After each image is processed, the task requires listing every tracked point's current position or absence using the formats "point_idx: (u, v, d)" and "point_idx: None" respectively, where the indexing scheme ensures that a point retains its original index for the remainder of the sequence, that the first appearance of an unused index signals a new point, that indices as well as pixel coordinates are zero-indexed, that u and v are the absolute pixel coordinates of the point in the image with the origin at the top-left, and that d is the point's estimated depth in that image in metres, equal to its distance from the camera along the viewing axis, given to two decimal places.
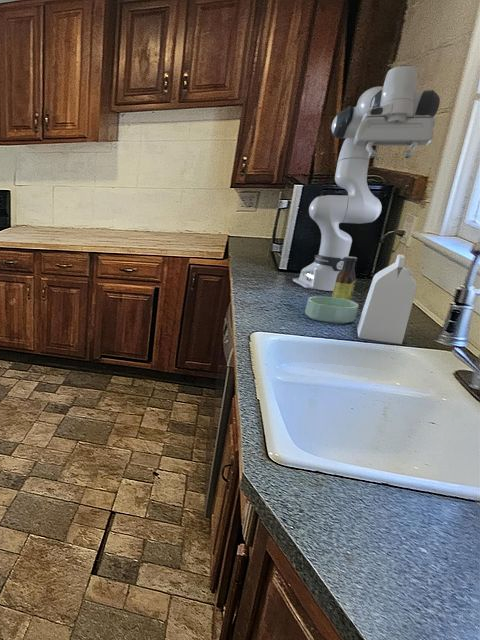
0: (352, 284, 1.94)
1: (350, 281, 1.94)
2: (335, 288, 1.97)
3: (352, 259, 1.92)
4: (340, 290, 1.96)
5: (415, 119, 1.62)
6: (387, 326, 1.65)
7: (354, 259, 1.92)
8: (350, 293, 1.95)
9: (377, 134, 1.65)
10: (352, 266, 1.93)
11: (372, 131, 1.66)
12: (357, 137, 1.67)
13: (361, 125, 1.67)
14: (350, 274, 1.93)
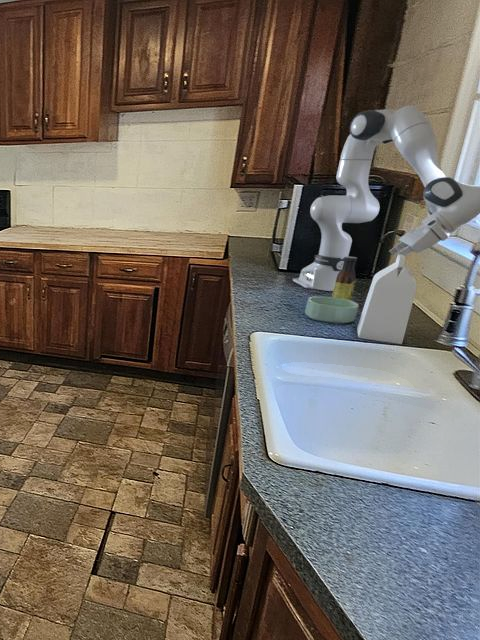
0: (352, 284, 1.94)
1: (350, 281, 1.94)
2: (335, 288, 1.97)
3: (352, 259, 1.92)
4: (340, 290, 1.96)
5: None
6: (387, 326, 1.65)
7: (354, 259, 1.92)
8: (350, 293, 1.95)
9: None
10: (352, 266, 1.93)
11: None
12: (420, 251, 1.76)
13: None
14: (350, 274, 1.93)
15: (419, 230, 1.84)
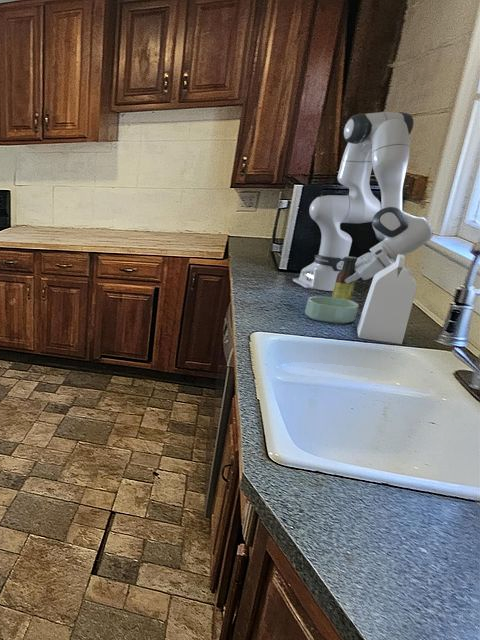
0: (352, 284, 1.94)
1: None
2: (335, 288, 1.97)
3: (352, 259, 1.92)
4: (340, 291, 1.96)
5: None
6: (387, 326, 1.65)
7: (354, 259, 1.92)
8: (350, 293, 1.95)
9: None
10: (352, 266, 1.93)
11: None
12: (367, 279, 1.85)
13: None
14: (350, 274, 1.93)
15: (368, 257, 1.93)
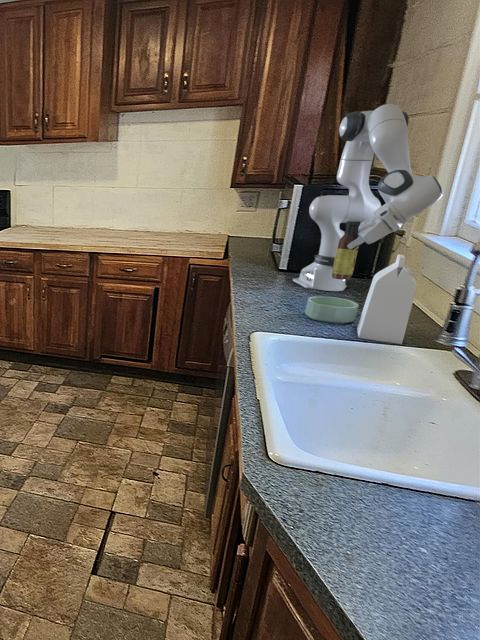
0: (355, 250, 1.80)
1: None
2: (337, 255, 1.84)
3: (355, 223, 1.78)
4: (342, 257, 1.82)
5: None
6: (387, 326, 1.65)
7: (357, 223, 1.78)
8: (353, 260, 1.81)
9: None
10: (355, 230, 1.79)
11: None
12: (371, 242, 1.72)
13: None
14: (353, 239, 1.79)
15: (372, 220, 1.79)
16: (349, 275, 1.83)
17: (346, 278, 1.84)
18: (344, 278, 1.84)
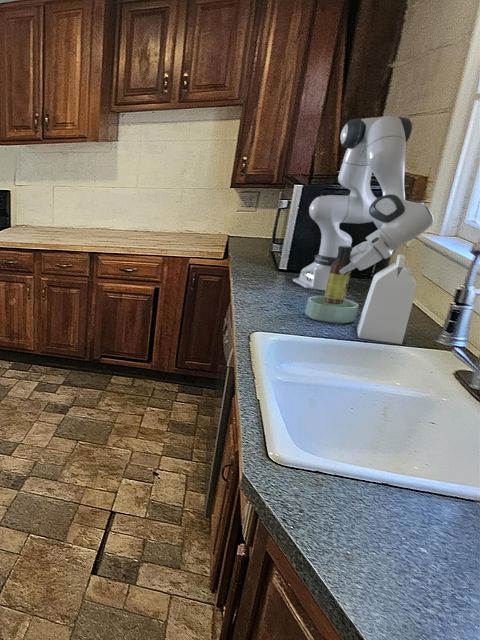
0: (347, 275, 1.82)
1: None
2: (329, 279, 1.85)
3: (347, 248, 1.79)
4: (334, 282, 1.83)
5: None
6: (387, 326, 1.65)
7: (349, 248, 1.79)
8: (345, 285, 1.83)
9: None
10: (347, 256, 1.80)
11: None
12: (363, 269, 1.73)
13: None
14: (345, 264, 1.81)
15: (364, 246, 1.80)
16: (341, 299, 1.84)
17: (338, 303, 1.85)
18: (336, 303, 1.85)
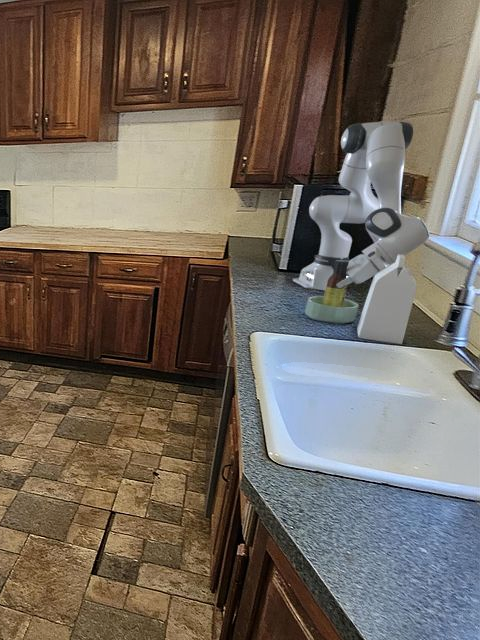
0: (344, 289, 1.83)
1: None
2: (326, 293, 1.87)
3: (343, 263, 1.81)
4: (331, 296, 1.85)
5: None
6: (387, 326, 1.65)
7: (346, 263, 1.81)
8: (342, 299, 1.85)
9: None
10: (344, 270, 1.82)
11: None
12: None
13: None
14: (341, 278, 1.83)
15: (360, 259, 1.82)
16: None
17: None
18: None
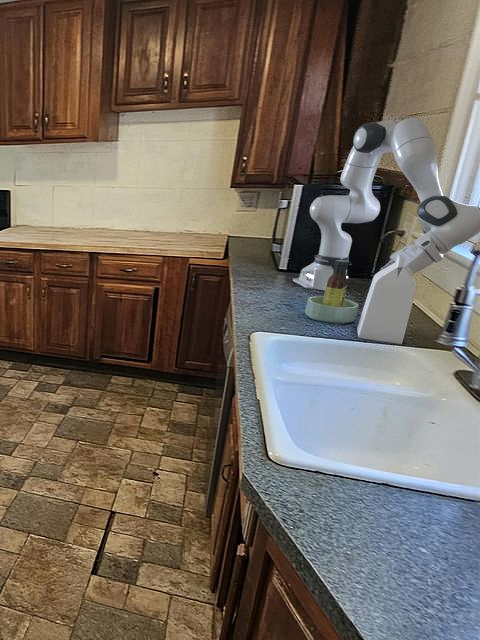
0: (344, 289, 1.83)
1: (342, 286, 1.83)
2: (326, 293, 1.87)
3: (343, 263, 1.81)
4: (331, 296, 1.85)
5: None
6: (387, 326, 1.65)
7: (346, 263, 1.81)
8: (342, 299, 1.85)
9: None
10: (344, 270, 1.82)
11: None
12: None
13: None
14: (341, 278, 1.83)
15: (412, 249, 1.76)
16: None
17: None
18: None
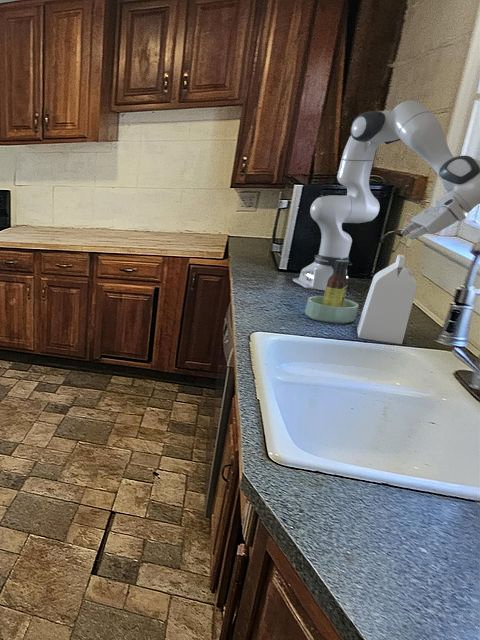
0: (344, 289, 1.83)
1: (342, 286, 1.83)
2: (326, 293, 1.87)
3: (343, 263, 1.81)
4: (331, 296, 1.85)
5: None
6: (387, 326, 1.65)
7: (346, 263, 1.81)
8: (342, 299, 1.85)
9: None
10: (344, 270, 1.82)
11: None
12: (435, 232, 1.67)
13: (449, 225, 1.66)
14: (341, 278, 1.83)
15: (434, 210, 1.75)
16: None
17: None
18: None
